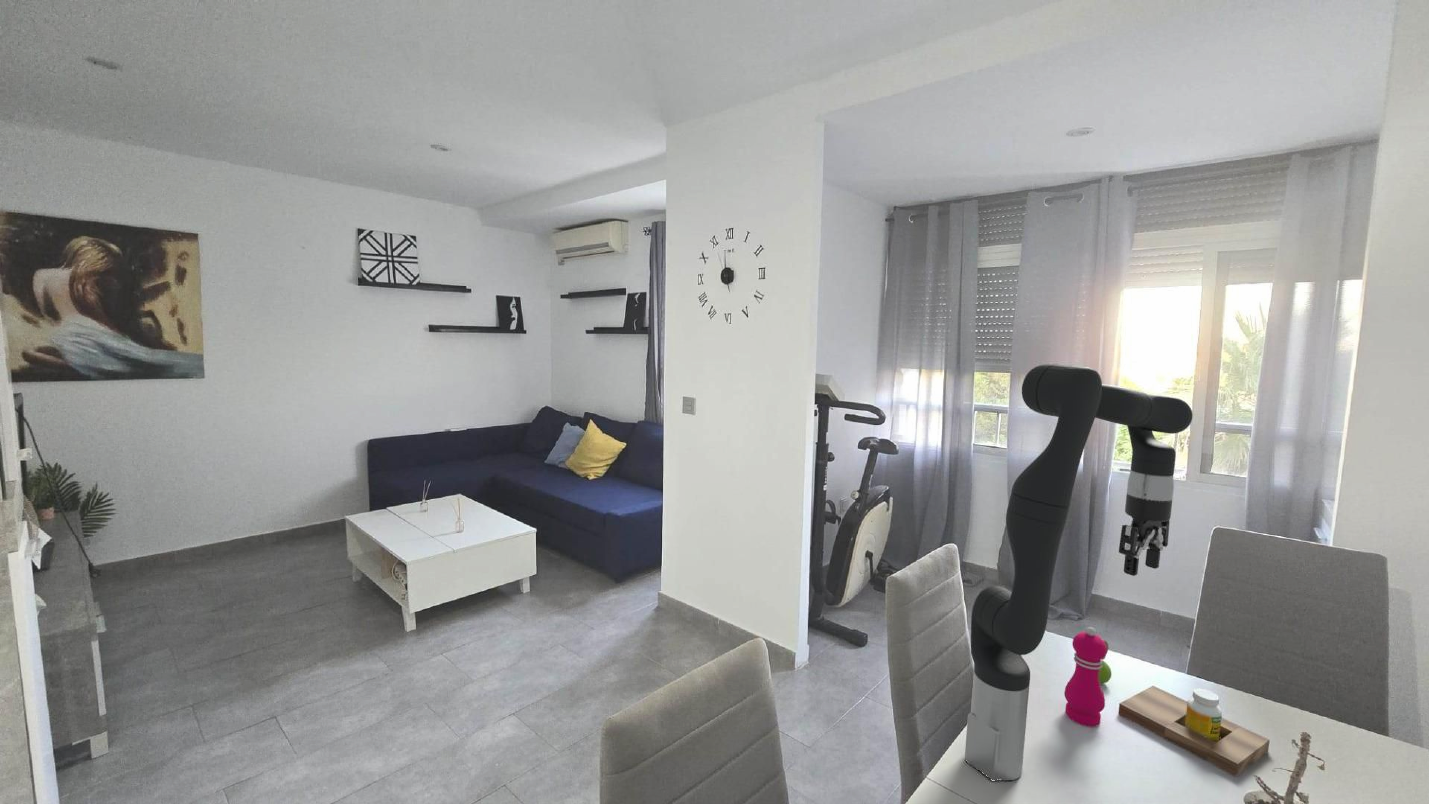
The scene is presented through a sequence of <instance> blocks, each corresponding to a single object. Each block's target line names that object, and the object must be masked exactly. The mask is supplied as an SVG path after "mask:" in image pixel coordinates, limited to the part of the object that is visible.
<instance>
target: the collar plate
mask: <svg viewBox="0 0 1429 804" xmlns="http://www.w3.org/2000/svg"><path fill="white" fill-rule="evenodd" d="M1187 702H1188V700H1185V699H1183V698H1180V697H1178V696H1177V695H1174V694H1173V693H1170V692H1167V691H1165V690H1163V689H1161V688H1159V687H1157V686H1155V685H1152V686H1150V687H1147V688H1145V689H1144V690H1142V691H1140V692H1138V693H1137V694H1135V695H1133V696H1131V697H1129V698H1126V699H1125V700H1123V701H1122V702H1121V701H1120V703H1119V704H1118V715H1119V716H1121V717H1123V718H1124V719H1126V720H1128V721H1130V722H1132V723H1135V724H1136V725H1137V726H1140V727H1142V728H1143V729H1145V730H1148V731H1149V732H1150V733H1153V734H1155V735H1157V736H1158V737H1161V738H1162V739H1164V740H1166V741H1168V742H1170V743H1172V744H1173V745H1176V747H1179V748H1181V749H1183V750H1185V751H1187V752H1189V753H1191V754H1193V755H1195V756H1197V757H1199V758H1200V759H1202V760H1205V761H1206V762H1208V763H1210V764H1212V765H1213V766H1216V767H1218V768H1219V769H1222V770H1223V771H1225V772H1227V773H1228V774H1230V775H1232V776H1234V777H1238V776H1239V775H1240V774H1242V773H1243V772H1244V771H1245V770H1247V769H1248V768H1249V767H1251V766H1252V765H1253V764H1254V763H1255V762H1258V760H1259V759H1262V757H1264V755H1266V754H1267V753H1268V752H1269V747H1270V739H1269V738H1267V737H1264V736H1262V735H1260V734H1258V733H1256V732H1253V730H1249V729H1247V728H1246V727H1244V726H1241V725H1239V724H1236V723H1234V722H1232V721H1230V720H1228V719H1226V718H1223V717H1222V719H1221V726H1220V734H1219V741H1218V742H1217V743H1216V742H1214V741H1212V740H1210V739H1208V738H1206V737H1204V736H1202V735H1200V734H1198V733H1196V732H1194V731H1192V730H1190V729H1188V728H1186V727H1185V720H1186V711H1187Z"/></svg>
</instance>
